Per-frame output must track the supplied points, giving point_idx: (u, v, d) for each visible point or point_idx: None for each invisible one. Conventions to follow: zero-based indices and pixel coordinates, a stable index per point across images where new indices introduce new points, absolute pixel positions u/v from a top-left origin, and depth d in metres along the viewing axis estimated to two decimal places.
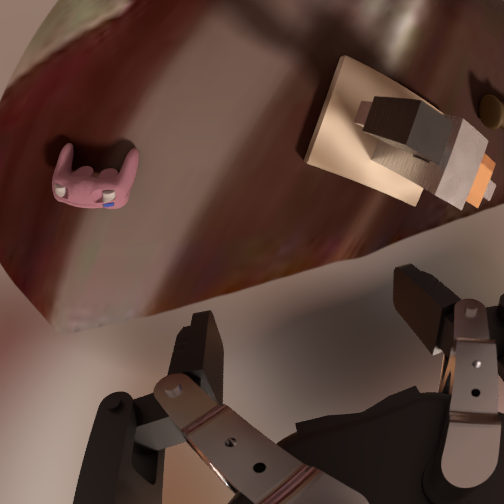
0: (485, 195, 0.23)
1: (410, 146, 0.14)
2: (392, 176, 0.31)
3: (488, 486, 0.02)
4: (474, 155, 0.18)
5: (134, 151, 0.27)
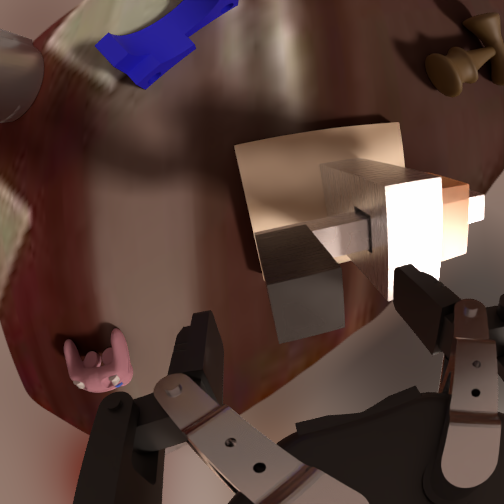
0: (474, 218, 0.17)
1: (287, 339, 0.12)
2: None
3: (488, 486, 0.02)
4: (427, 215, 0.14)
5: (114, 333, 0.30)
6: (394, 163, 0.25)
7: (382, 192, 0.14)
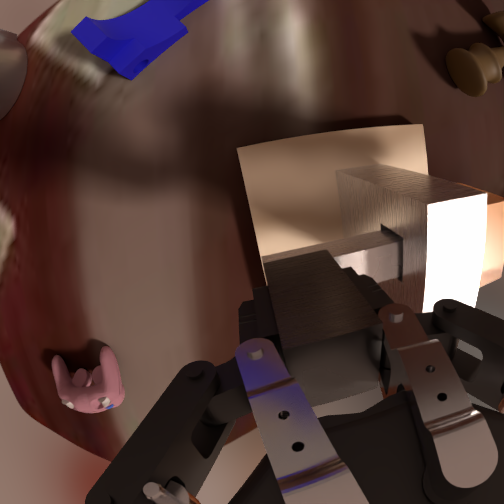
0: None
1: None
2: None
3: (488, 486, 0.02)
4: (470, 239, 0.11)
5: (103, 352, 0.27)
6: (417, 170, 0.21)
7: (423, 212, 0.11)
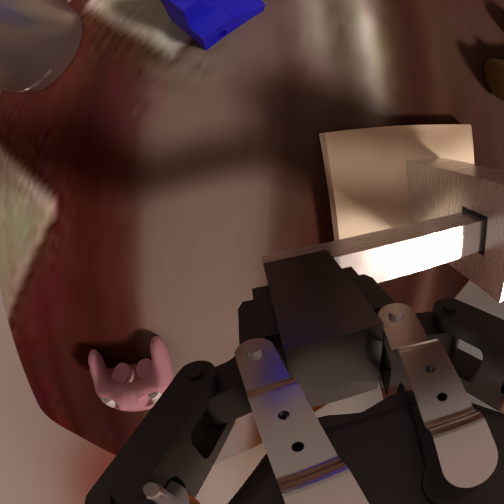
0: None
1: None
2: None
3: (488, 486, 0.02)
4: None
5: (155, 342, 0.26)
6: None
7: None
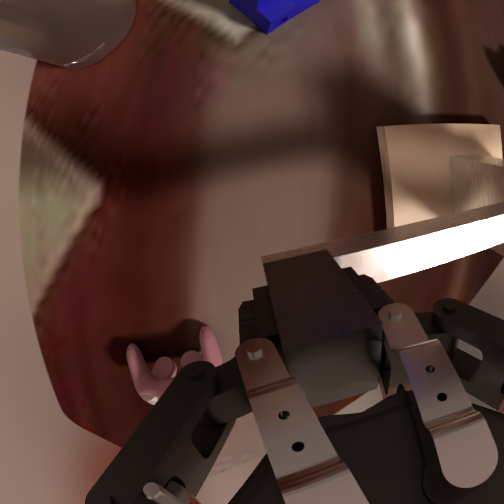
0: None
1: None
2: None
3: (488, 486, 0.02)
4: None
5: (205, 332, 0.26)
6: None
7: None
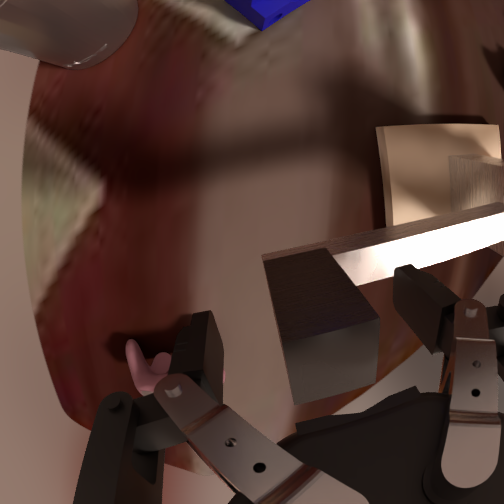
0: None
1: (304, 400, 0.09)
2: None
3: (488, 486, 0.02)
4: None
5: None
6: None
7: None
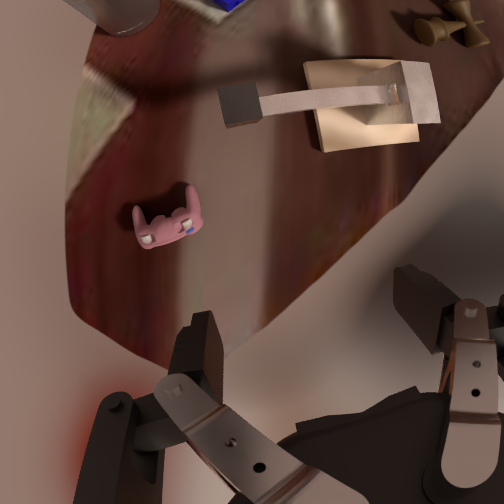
0: (381, 100, 0.26)
1: (229, 123, 0.21)
2: (389, 129, 0.36)
3: (488, 486, 0.02)
4: (425, 79, 0.23)
5: (190, 186, 0.38)
6: None
7: (400, 64, 0.23)
